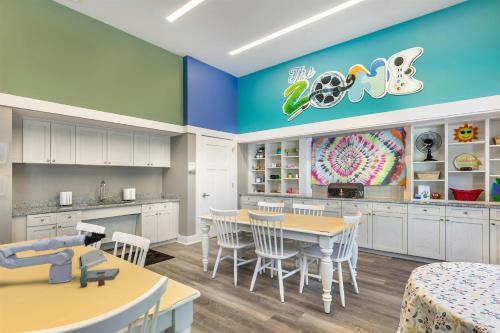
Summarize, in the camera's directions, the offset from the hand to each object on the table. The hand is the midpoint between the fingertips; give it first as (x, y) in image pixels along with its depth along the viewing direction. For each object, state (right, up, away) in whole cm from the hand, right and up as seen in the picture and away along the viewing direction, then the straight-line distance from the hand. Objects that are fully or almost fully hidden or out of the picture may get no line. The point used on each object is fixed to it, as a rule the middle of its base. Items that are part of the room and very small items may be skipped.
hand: (103, 237), depth 143 cm
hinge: (-18, -23, +19) cm, 35 cm away
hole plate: (-1, -22, -1) cm, 22 cm away
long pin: (-2, -21, -14) cm, 25 cm away
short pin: (+6, -21, -12) cm, 25 cm away
